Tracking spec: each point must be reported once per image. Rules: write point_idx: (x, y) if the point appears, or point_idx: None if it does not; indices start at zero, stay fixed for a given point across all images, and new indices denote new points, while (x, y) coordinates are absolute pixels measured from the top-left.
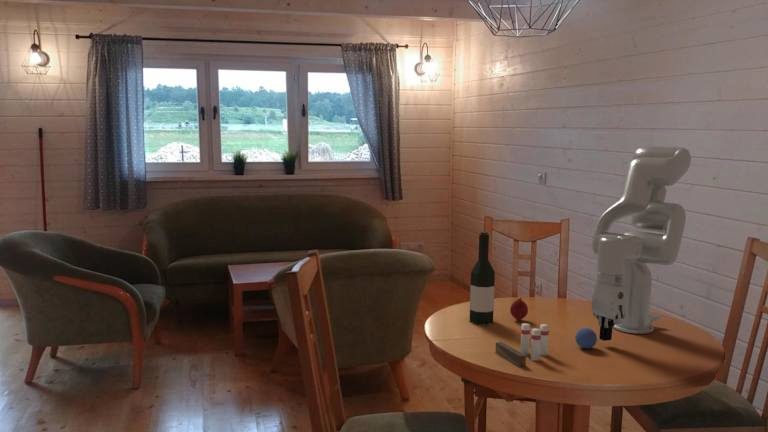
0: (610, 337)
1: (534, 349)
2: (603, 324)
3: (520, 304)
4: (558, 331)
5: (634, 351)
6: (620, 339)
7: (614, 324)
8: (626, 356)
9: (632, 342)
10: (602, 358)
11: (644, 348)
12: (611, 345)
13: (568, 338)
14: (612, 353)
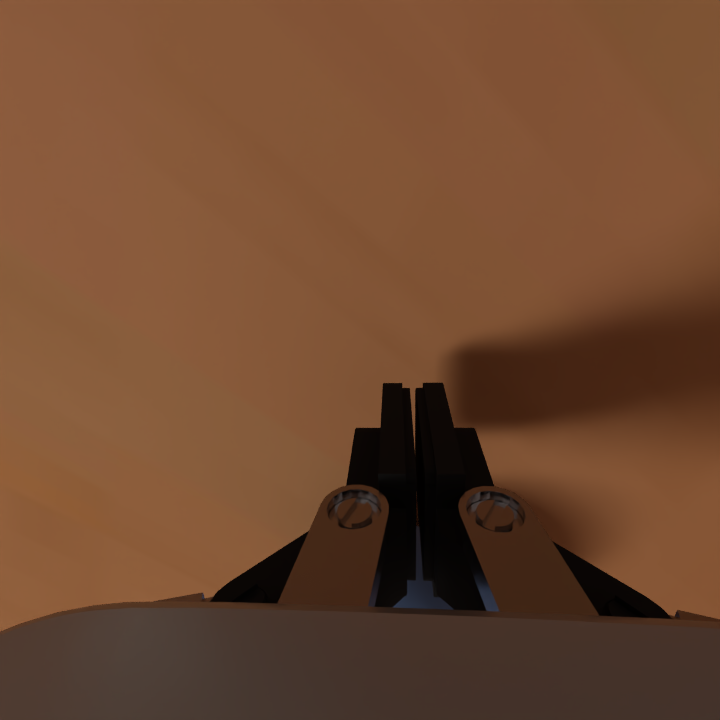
0: (471, 432)
1: None
2: (403, 595)
3: None
4: (3, 491)
5: (670, 240)
6: (290, 90)
7: (604, 590)
8: (705, 407)
9: (435, 7)
10: (614, 572)
11: (683, 24)
12: (422, 335)
13: (173, 521)
14: (582, 458)
